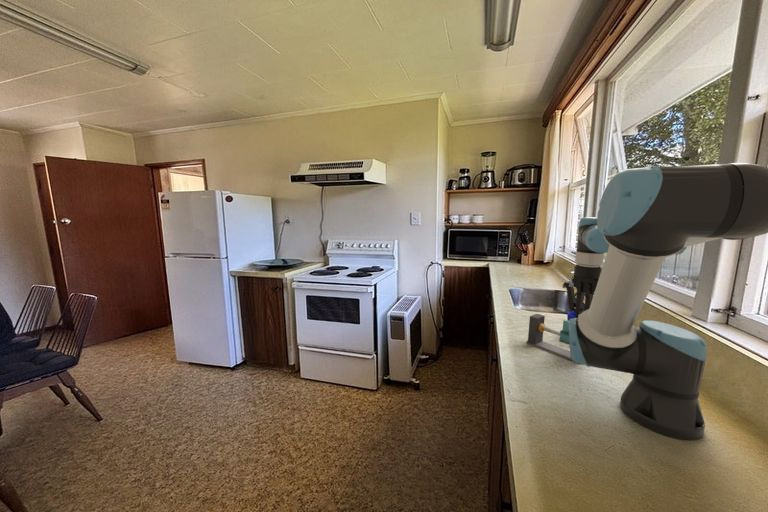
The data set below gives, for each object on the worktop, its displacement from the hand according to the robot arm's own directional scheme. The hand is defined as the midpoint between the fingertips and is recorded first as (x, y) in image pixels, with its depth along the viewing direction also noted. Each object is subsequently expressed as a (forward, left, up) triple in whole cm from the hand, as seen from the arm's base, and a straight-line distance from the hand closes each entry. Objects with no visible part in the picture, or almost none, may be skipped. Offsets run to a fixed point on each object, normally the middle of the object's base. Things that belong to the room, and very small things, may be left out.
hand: (580, 332), depth 100 cm
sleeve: (+2, +3, -5) cm, 6 cm away
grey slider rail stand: (+4, +6, -10) cm, 12 cm away
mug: (+20, -6, -10) cm, 23 cm away
